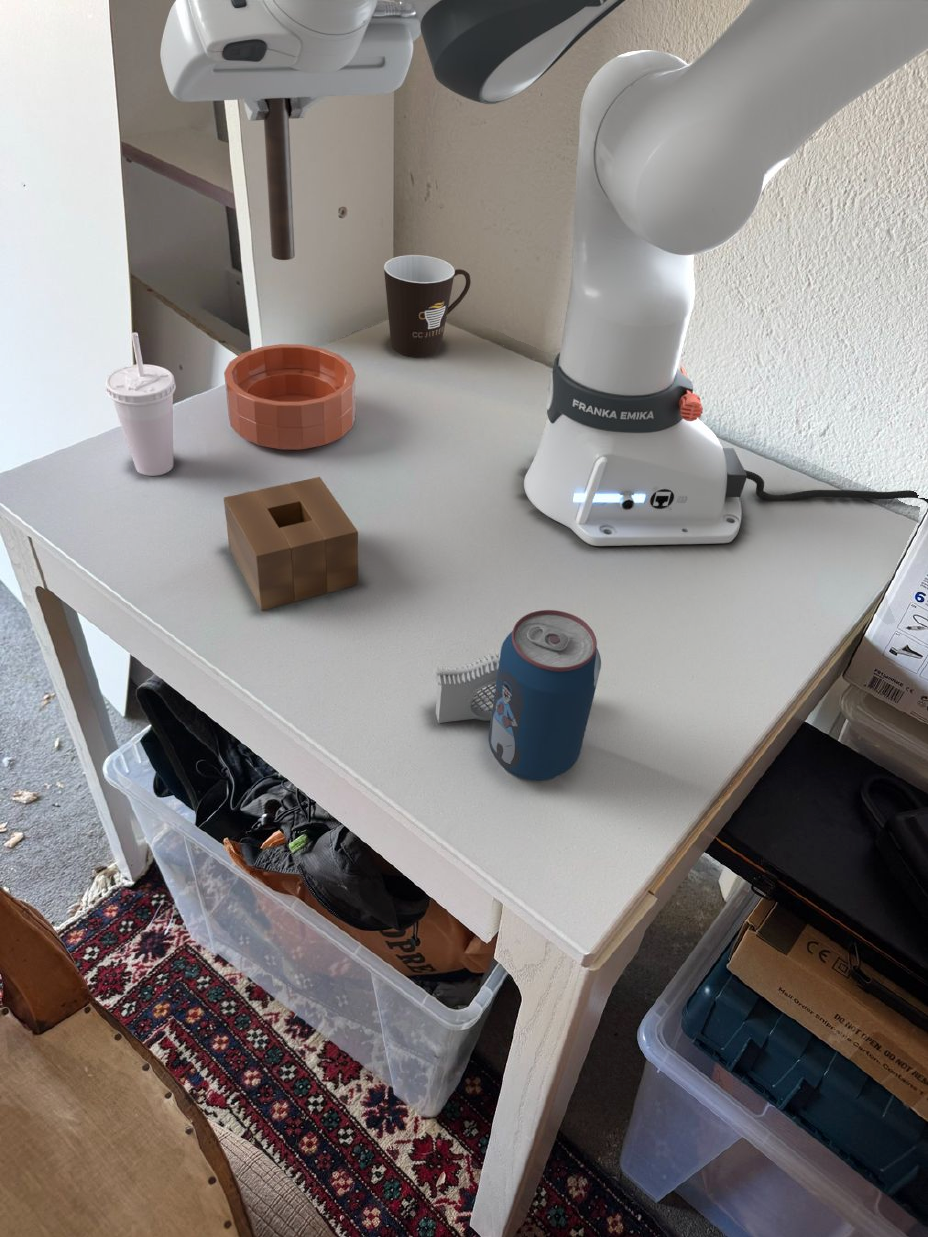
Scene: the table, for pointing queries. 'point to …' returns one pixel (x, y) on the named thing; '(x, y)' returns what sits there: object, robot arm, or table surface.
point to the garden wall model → (466, 690)
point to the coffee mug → (419, 302)
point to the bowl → (290, 396)
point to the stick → (279, 178)
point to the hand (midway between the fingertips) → (273, 111)
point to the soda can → (543, 695)
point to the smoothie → (145, 412)
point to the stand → (292, 542)
